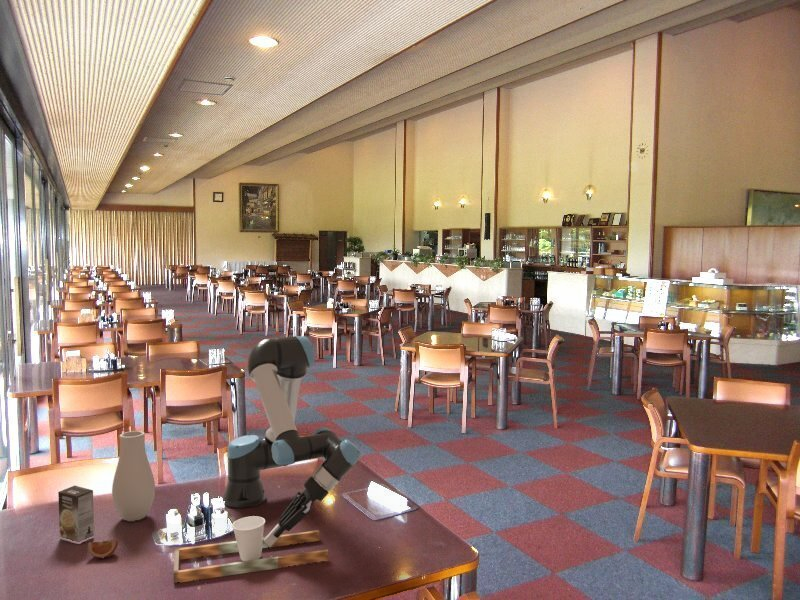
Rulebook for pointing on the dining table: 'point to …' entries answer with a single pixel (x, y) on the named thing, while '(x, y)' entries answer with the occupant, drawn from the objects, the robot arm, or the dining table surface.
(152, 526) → the dining table surface
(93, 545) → the fruit slice
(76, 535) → the coffee box
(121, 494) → the vase
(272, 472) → the dining table surface
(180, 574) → the track
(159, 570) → the dining table surface
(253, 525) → the cup
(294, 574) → the dining table surface
